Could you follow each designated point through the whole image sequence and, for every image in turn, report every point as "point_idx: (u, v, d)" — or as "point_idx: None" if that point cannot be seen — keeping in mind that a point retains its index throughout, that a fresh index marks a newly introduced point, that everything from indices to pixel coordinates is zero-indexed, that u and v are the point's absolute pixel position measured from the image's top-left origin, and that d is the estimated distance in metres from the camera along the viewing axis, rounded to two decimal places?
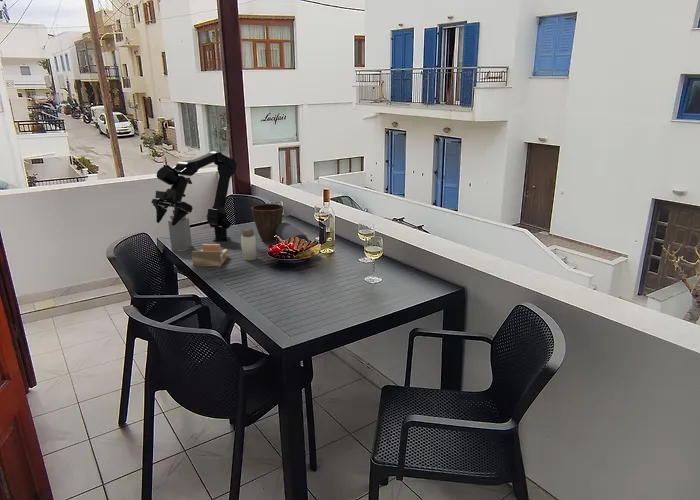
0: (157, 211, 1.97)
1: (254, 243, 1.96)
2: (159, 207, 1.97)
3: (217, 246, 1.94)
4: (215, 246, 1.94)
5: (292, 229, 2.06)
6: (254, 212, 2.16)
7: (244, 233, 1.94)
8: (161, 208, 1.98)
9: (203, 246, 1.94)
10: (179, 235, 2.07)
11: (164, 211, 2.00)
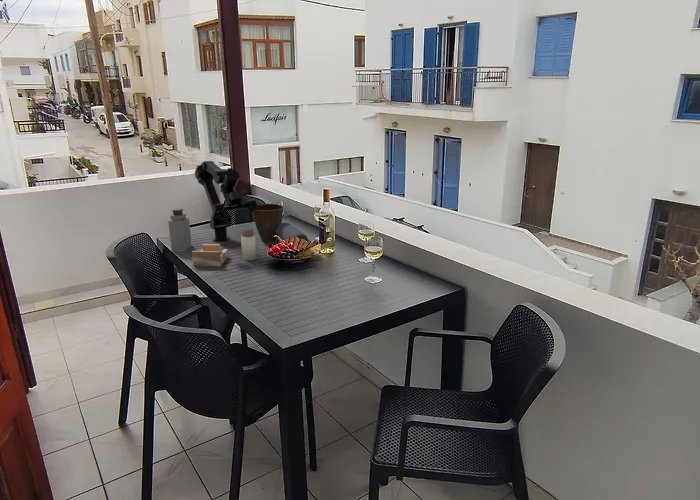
0: (226, 215, 1.98)
1: (254, 243, 1.96)
2: None
3: (217, 246, 1.94)
4: (215, 246, 1.94)
5: (292, 229, 2.06)
6: (254, 212, 2.16)
7: (244, 233, 1.94)
8: None
9: (203, 246, 1.94)
10: (179, 235, 2.07)
11: None
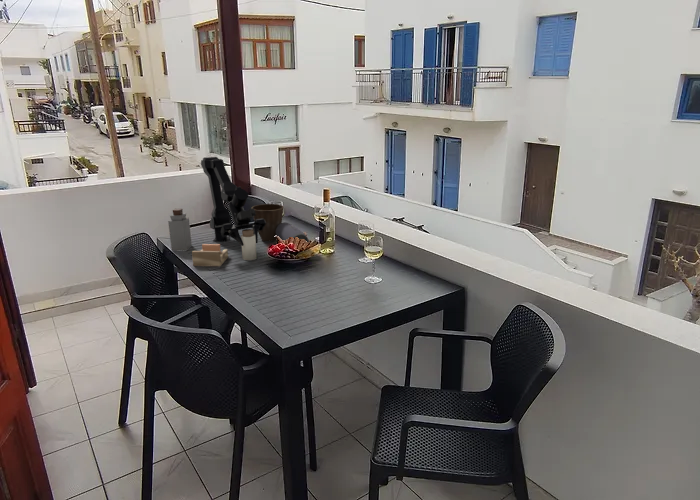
0: (238, 234, 1.94)
1: (254, 243, 1.96)
2: None
3: (217, 246, 1.94)
4: (215, 246, 1.94)
5: (292, 229, 2.06)
6: None
7: (244, 233, 1.94)
8: None
9: (203, 246, 1.94)
10: (179, 235, 2.07)
11: None
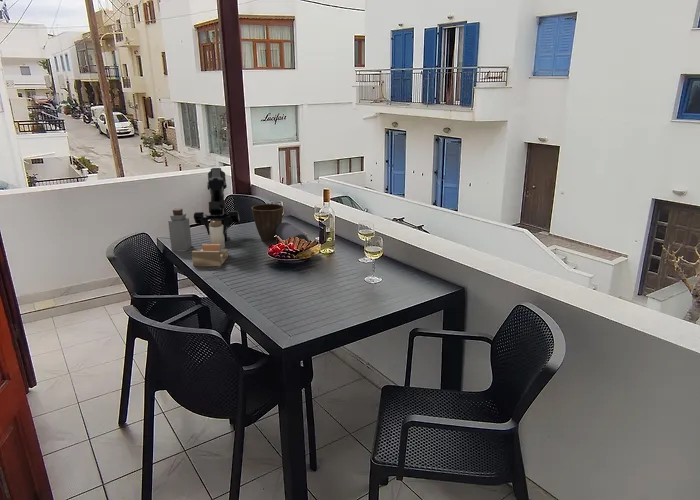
0: (206, 224, 2.01)
1: (219, 234, 2.00)
2: (207, 220, 2.02)
3: (217, 246, 1.94)
4: (215, 246, 1.94)
5: (292, 229, 2.06)
6: (254, 212, 2.16)
7: (210, 223, 1.99)
8: None
9: (203, 246, 1.94)
10: (179, 235, 2.07)
11: None
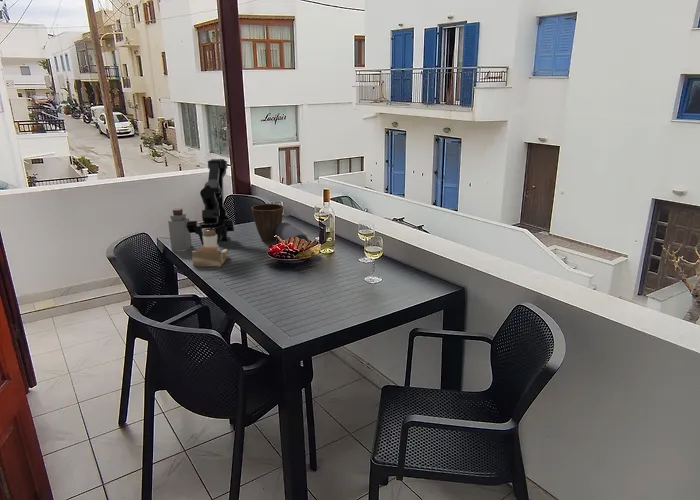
0: (200, 233, 1.93)
1: (213, 243, 1.92)
2: (201, 229, 1.94)
3: (214, 249, 1.90)
4: (212, 249, 1.90)
5: (292, 229, 2.06)
6: (254, 212, 2.16)
7: (204, 232, 1.91)
8: (201, 230, 1.95)
9: (200, 249, 1.90)
10: (179, 235, 2.07)
11: (202, 234, 1.96)
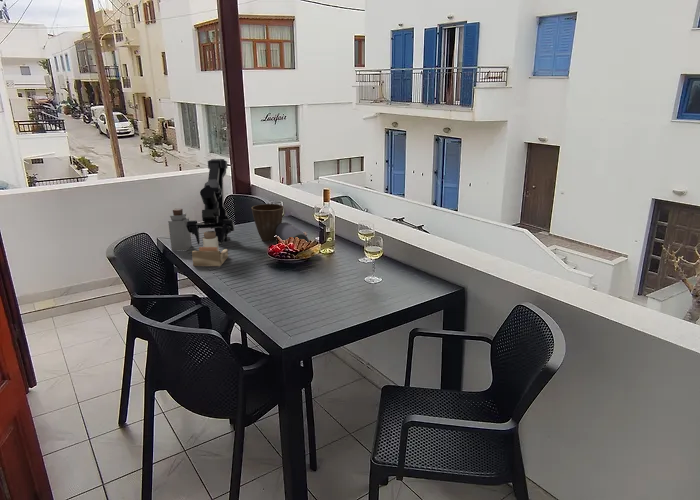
0: (196, 233, 1.92)
1: (213, 246, 1.92)
2: (197, 229, 1.93)
3: (214, 249, 1.90)
4: (212, 249, 1.90)
5: (292, 229, 2.06)
6: (254, 212, 2.16)
7: (204, 234, 1.91)
8: (197, 230, 1.94)
9: (200, 249, 1.90)
10: (179, 235, 2.07)
11: (198, 234, 1.96)
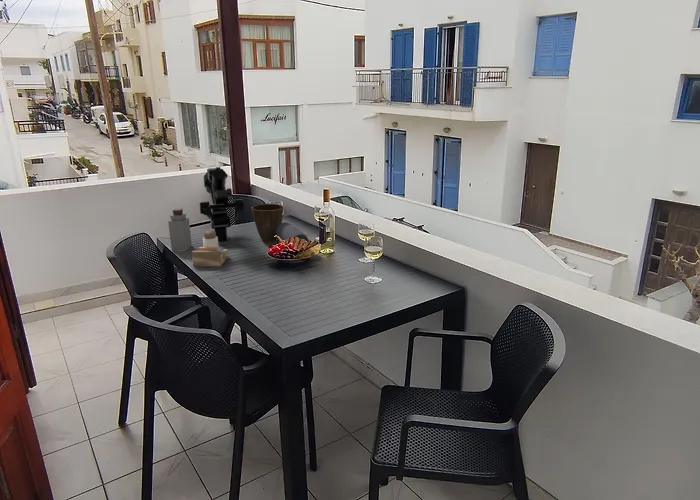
0: (210, 213, 2.01)
1: (213, 246, 1.92)
2: (210, 209, 2.02)
3: (214, 249, 1.90)
4: (212, 249, 1.90)
5: (292, 229, 2.06)
6: (254, 212, 2.16)
7: (204, 234, 1.91)
8: None
9: (200, 249, 1.90)
10: (179, 235, 2.07)
11: None
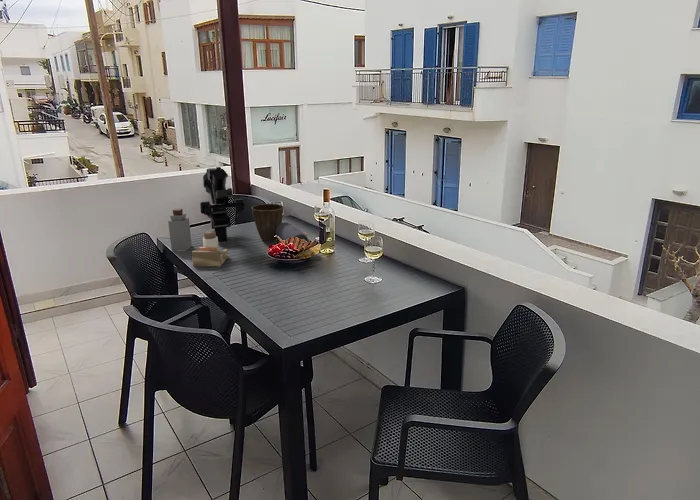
0: (211, 213, 2.01)
1: (213, 246, 1.92)
2: None
3: (214, 249, 1.90)
4: (212, 249, 1.90)
5: (292, 229, 2.06)
6: (254, 212, 2.16)
7: (204, 234, 1.91)
8: None
9: (200, 249, 1.90)
10: (179, 235, 2.07)
11: None
